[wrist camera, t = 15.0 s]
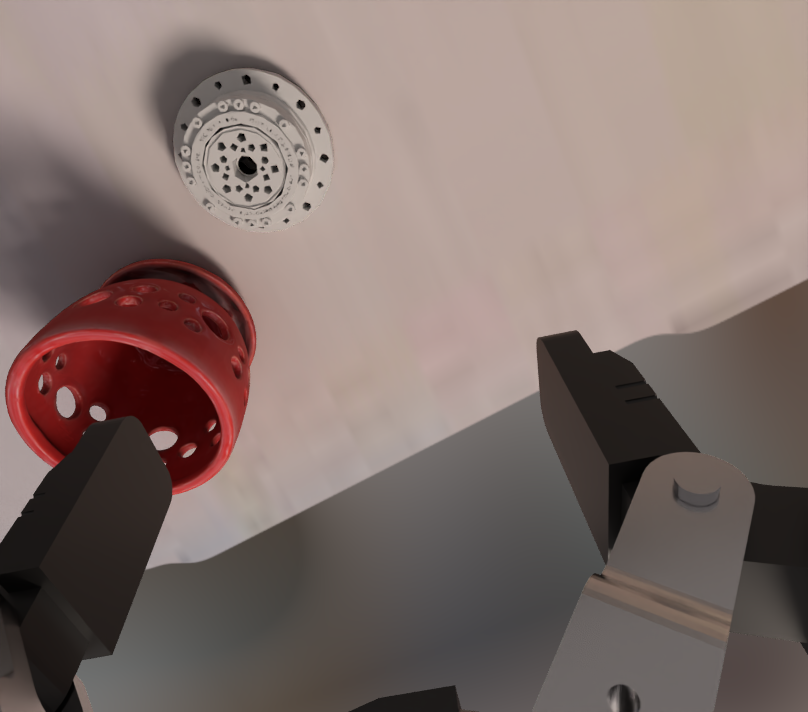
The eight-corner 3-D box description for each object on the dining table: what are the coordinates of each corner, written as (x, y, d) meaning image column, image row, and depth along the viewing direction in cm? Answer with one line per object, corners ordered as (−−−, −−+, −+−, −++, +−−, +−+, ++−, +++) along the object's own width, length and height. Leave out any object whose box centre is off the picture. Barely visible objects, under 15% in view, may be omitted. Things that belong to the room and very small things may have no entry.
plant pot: (71, 239, 39) (-34, 320, 29) (264, 251, 40) (226, 333, 30) (107, 392, 46) (31, 502, 36) (270, 399, 47) (242, 507, 37)
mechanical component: (337, 227, 40) (332, 69, 35) (333, 250, 36) (326, 77, 31) (193, 225, 39) (166, 64, 34) (174, 248, 36) (140, 71, 30)
